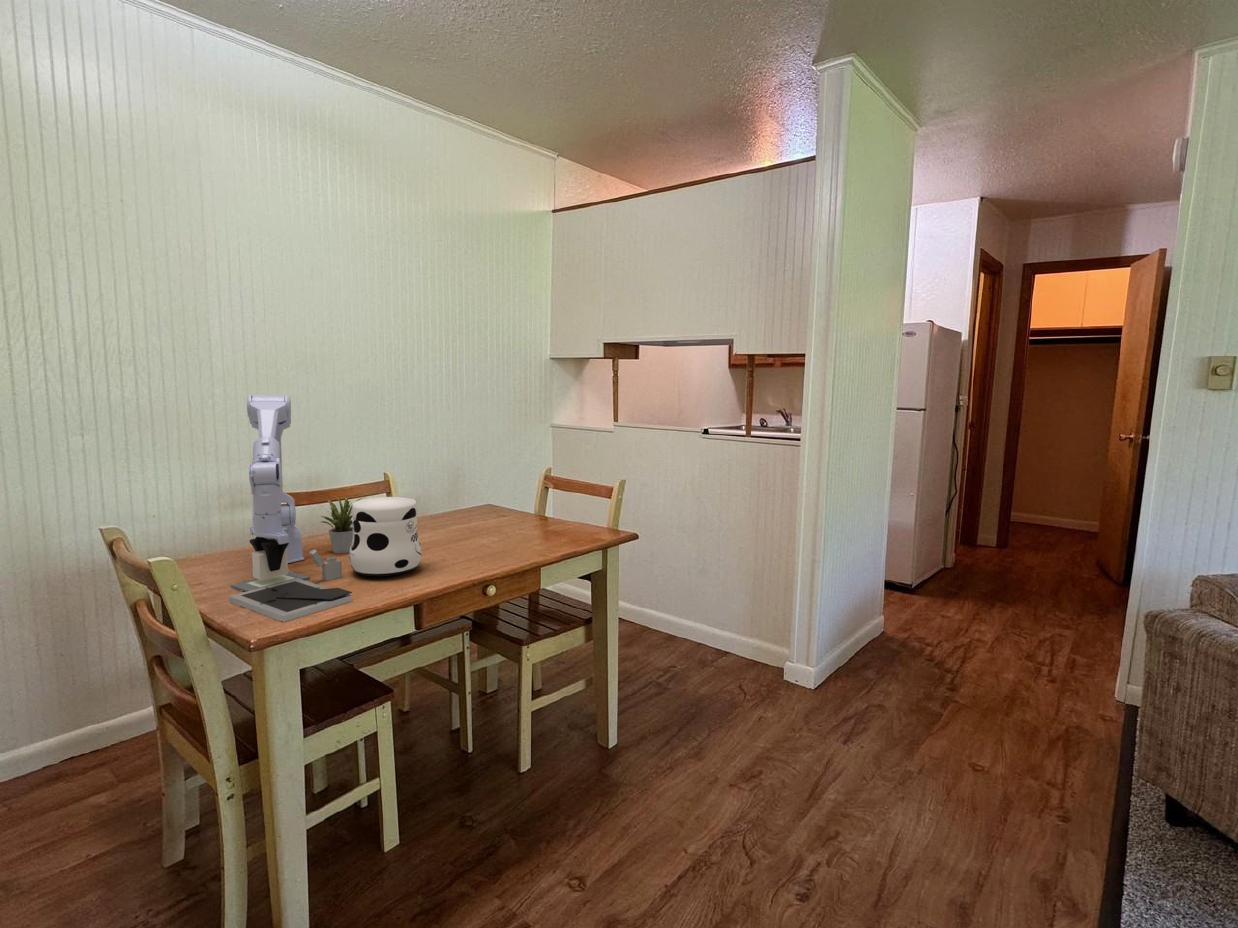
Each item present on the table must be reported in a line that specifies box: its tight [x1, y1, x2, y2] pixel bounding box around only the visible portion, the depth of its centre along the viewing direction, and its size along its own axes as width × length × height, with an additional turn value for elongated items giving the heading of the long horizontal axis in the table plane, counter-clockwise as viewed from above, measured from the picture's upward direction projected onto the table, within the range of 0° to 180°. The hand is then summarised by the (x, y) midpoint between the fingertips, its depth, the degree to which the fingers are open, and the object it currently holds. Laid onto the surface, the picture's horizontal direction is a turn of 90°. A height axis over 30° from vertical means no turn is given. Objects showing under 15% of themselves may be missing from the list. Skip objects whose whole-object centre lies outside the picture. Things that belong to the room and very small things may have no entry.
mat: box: [230, 570, 311, 592], centre depth 156 cm, size 14×9×1 cm, turn 148°
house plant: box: [317, 495, 367, 554], centre depth 185 cm, size 14×14×16 cm
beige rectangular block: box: [251, 549, 289, 580], centre depth 155 cm, size 4×6×6 cm, turn 144°
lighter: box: [308, 548, 343, 582], centre depth 159 cm, size 7×2×8 cm, turn 138°
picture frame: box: [228, 578, 353, 623], centre depth 144 cm, size 16×3×21 cm
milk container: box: [348, 496, 422, 578], centre depth 166 cm, size 17×17×18 cm
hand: (270, 568), depth 156 cm, fingers closed on beige rectangular block, 3 cm apart
